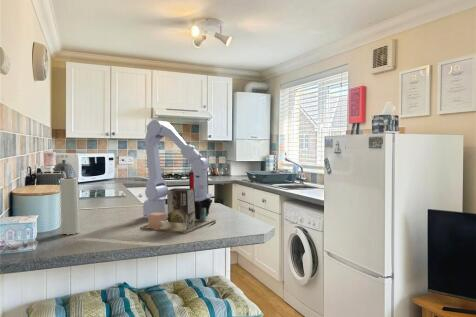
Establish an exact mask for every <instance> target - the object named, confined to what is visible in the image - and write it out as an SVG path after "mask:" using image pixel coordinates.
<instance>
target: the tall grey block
mask: <svg viewBox="0 0 476 317" xmlns="http://www.w3.org/2000/svg"><path fill="white" fill-rule="evenodd" d="M78 182H79V181H78V177H63V178H60V179H59V186H60V187H59V188H60V209H61V210H60V212H61V213H60V215H61V234H62V235H63V234H67V235H66V236H70V235H69V234H73V235H77V234H79V233H80V213H79V212H80V210H79V207H80V206H79V183H78ZM76 233H77V234H76Z"/></svg>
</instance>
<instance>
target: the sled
mask: <svg viewBox="0 0 476 317" xmlns="http://www.w3.org/2000/svg"><path fill="white" fill-rule="evenodd" d="M195 221H199V222H205V223H202V224H200V225H196V226H195V227H194V228H196V227H198V226H201V225H203V224H206V223H208V222H211V221H212V220H207V217H206V208H201V214H200V219H199V220H198V219H195ZM159 223H160V229H163V230H172V231H180V232H186V231H189V230H186V224H185V223H175V222H168V221H167V220H166V221H160V222H159ZM194 228H192V229H194ZM190 230H191V229H190Z"/></svg>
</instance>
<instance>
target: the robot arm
mask: <svg viewBox="0 0 476 317" xmlns="http://www.w3.org/2000/svg"><path fill="white" fill-rule="evenodd" d="M145 133H146V134H145V138H144V143H145V144H144V146H145V151H146V162H147V163H146V164H147V169H148V180H147V182H146V184H145V191H144V195H145V197H146V198H147V199H145V200H144V201H143V206H142V207H143V208H142V209H143V211H142V212H143V216H142V217H143V218H145V219H148V215H149V214H152V213H154V212H159V213H166V214H167V212H166V198H167V190H169V189H168V188H169V187H168V186H167V184H166V180H165V179H164V178H163V177H162V176H163V174H162V168H161V159H160V158H161V157H160V150H159V148H160V147H159V142H160V141H161V140H162V139H163V138H164V137H166V138H168V139H170V141H172V142H173V143H174V144H175V145H176V147H178V148H179V149H180V155H182V156H183V158H184V159H185V160H186V161H187V162H188V163H189V164H190V167H191V168H190V169H191V170H193V172H194V192H195V219H198V220H199V219H200V214H201V208H206V218H207V217H208V215H209V214H208V212H209V211H210V207H211V205H212V203H213V199H212V194H211V193H209V191H208V192H207V170H208V169H209V167H210V161H209V160H208V158H207V157H204V156H203V154H201V153H200V152H199V151H197V149H196V146H195V145H192V144H187V143H186V142H185V140H184V139H183V137H181V136H180V134H179V132H178V131H176V129H175V127H174V125H172V124H171V123H170V122H169V121H166V120H164V121H163V120H157V119H153V120H151V121H150V122H149V123H148V124H147V125H146V132H145ZM199 201H200V203H199ZM209 213H210V212H209Z"/></svg>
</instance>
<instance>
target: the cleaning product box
mask: <svg viewBox="0 0 476 317" xmlns="http://www.w3.org/2000/svg"><path fill="white" fill-rule="evenodd" d="M188 176H189V177H188V180H189V181H188V182H189V188H191V189H194V172H193V170H192V169H190V170H189V173H188ZM207 192H208V193H209V170H208V169H207ZM199 203H200V201H199ZM208 215H210V212H208Z"/></svg>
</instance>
